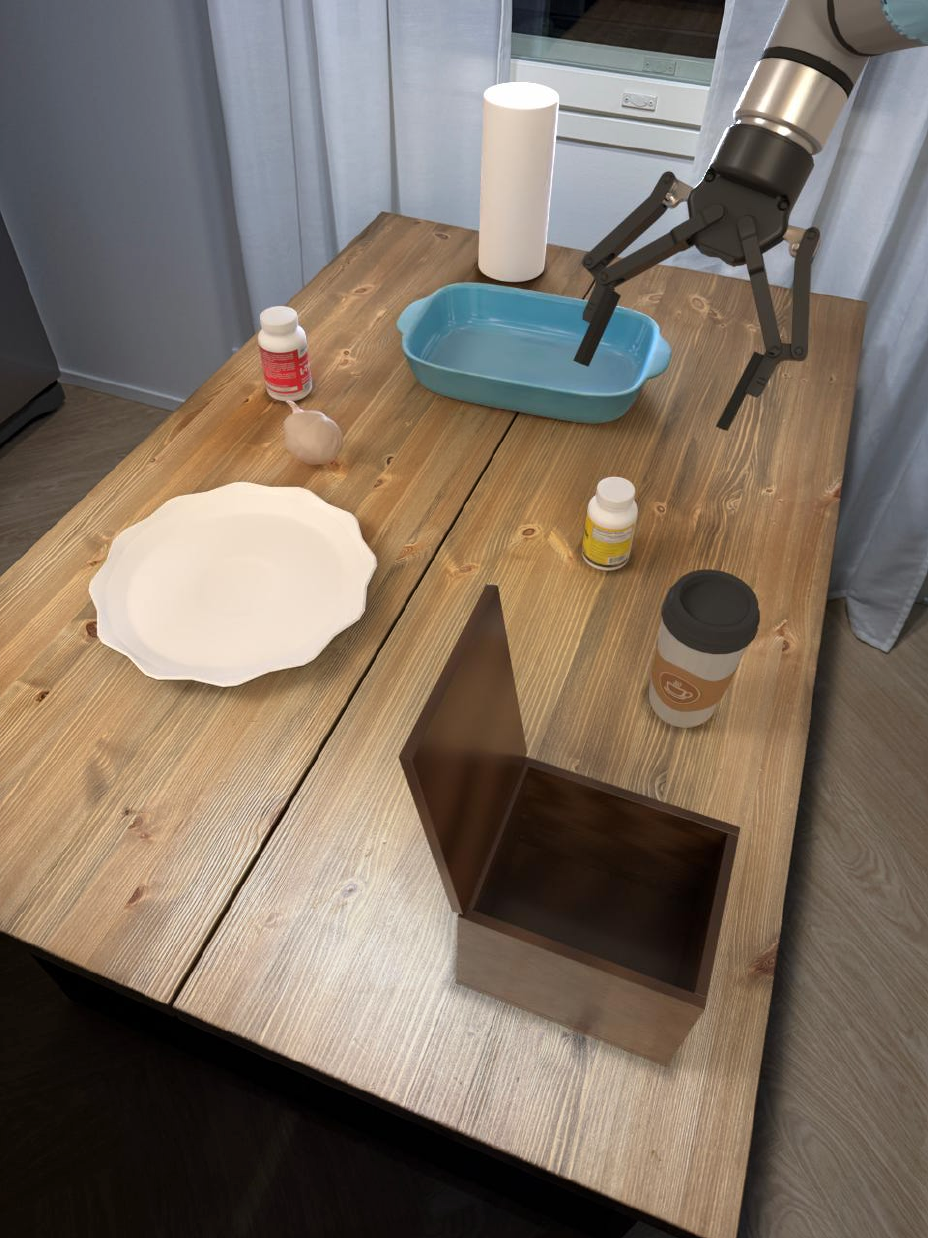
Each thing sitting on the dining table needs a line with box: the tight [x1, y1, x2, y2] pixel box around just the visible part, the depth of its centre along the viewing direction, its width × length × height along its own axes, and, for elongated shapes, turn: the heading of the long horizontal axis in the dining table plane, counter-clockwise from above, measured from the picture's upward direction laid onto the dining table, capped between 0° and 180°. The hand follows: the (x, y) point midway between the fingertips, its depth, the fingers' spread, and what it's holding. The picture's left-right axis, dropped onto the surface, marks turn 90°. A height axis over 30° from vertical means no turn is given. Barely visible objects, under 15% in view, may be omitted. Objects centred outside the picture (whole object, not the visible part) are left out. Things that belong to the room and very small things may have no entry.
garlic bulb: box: [282, 400, 344, 466], centre depth 108 cm, size 7×6×8 cm
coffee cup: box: [648, 568, 761, 729], centre depth 81 cm, size 8×8×15 cm
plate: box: [88, 481, 378, 689], centre depth 95 cm, size 29×29×2 cm
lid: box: [397, 583, 528, 915], centre depth 57 cm, size 18×14×1 cm
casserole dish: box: [396, 282, 672, 425], centre depth 120 cm, size 37×22×7 cm, turn 72°
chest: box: [455, 755, 741, 1068], centre depth 67 cm, size 17×14×13 cm
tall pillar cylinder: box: [477, 81, 560, 283], centre depth 135 cm, size 11×11×25 cm
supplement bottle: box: [581, 476, 639, 572], centre depth 97 cm, size 5×5×10 cm
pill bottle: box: [257, 305, 313, 402], centre depth 116 cm, size 6×6×11 cm
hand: (649, 395), depth 77 cm, fingers open, 13 cm apart
